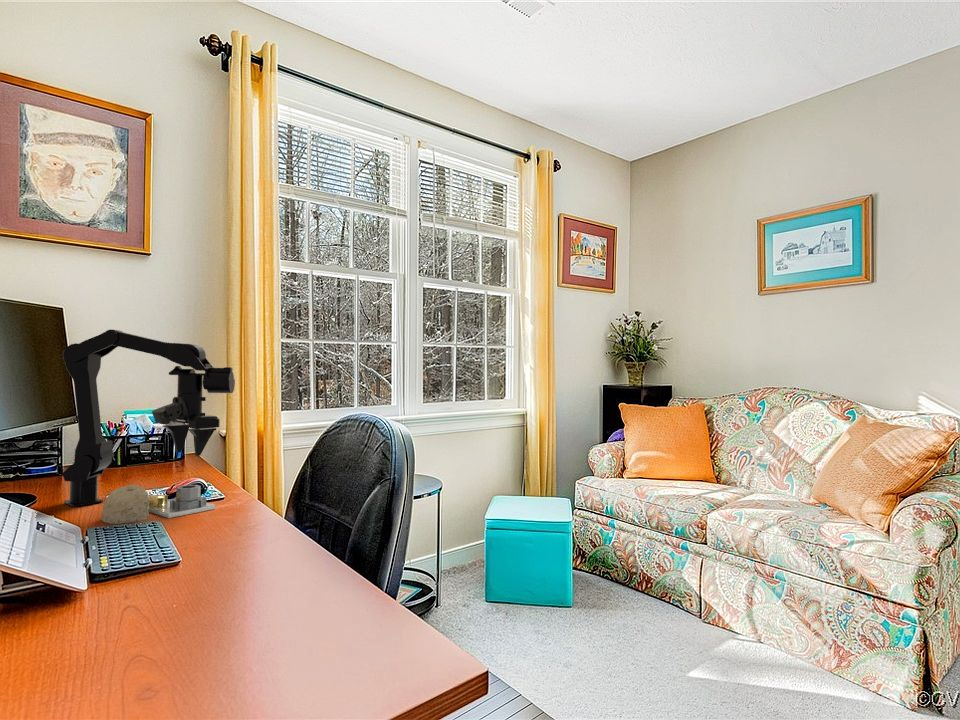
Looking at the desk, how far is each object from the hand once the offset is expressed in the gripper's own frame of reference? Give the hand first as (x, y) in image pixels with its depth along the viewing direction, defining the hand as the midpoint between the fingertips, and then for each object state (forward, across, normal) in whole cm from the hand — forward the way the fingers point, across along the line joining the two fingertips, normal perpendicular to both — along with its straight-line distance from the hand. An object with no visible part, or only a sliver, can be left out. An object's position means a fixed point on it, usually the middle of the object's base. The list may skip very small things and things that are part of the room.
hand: (188, 454), depth 146 cm
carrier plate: (+12, +6, -6) cm, 15 cm away
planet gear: (+11, +9, -4) cm, 15 cm away
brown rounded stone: (+12, +6, -17) cm, 22 cm away
